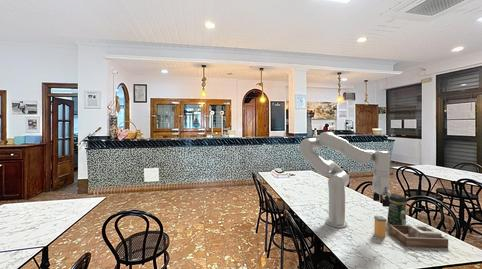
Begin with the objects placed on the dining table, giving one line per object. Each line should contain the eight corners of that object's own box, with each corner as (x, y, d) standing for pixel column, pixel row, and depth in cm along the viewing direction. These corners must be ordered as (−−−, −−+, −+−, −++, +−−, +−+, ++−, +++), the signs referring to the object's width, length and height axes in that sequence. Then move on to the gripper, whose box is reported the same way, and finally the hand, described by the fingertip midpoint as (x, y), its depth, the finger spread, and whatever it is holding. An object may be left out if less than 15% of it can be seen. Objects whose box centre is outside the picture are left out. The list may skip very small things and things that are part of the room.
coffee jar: (384, 221, 149) (385, 192, 149) (394, 220, 152) (395, 191, 151) (398, 227, 140) (399, 197, 140) (408, 226, 142) (409, 196, 142)
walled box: (388, 232, 134) (388, 222, 133) (424, 233, 132) (425, 223, 132) (406, 246, 118) (407, 235, 117) (448, 248, 116) (448, 236, 116)
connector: (373, 233, 132) (374, 216, 132) (381, 233, 132) (382, 216, 132) (377, 236, 128) (378, 219, 128) (386, 237, 128) (386, 219, 127)
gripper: (367, 170, 138) (366, 198, 138) (383, 176, 120) (382, 208, 121) (380, 170, 137) (379, 198, 138) (398, 176, 120) (397, 209, 120)
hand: (380, 203), depth 129 cm, fingers open, 9 cm apart
